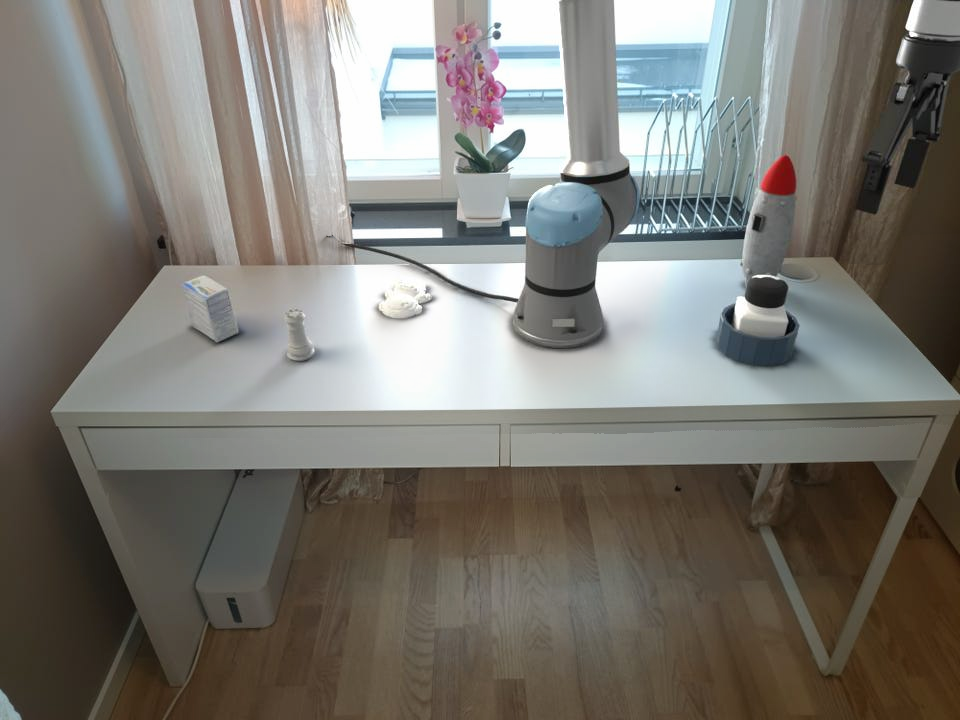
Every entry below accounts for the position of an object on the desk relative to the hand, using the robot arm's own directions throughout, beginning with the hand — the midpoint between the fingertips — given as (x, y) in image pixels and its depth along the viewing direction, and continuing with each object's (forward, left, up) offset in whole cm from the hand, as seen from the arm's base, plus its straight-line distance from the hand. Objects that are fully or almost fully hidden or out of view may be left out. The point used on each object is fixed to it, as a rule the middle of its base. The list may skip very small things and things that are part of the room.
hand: (885, 198), depth 104 cm
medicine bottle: (-12, -3, -27) cm, 30 cm away
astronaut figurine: (-71, -17, -27) cm, 78 cm away
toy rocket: (-16, +18, -27) cm, 36 cm away
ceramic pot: (-12, -3, -27) cm, 29 cm away
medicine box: (-94, -41, -27) cm, 106 cm away
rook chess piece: (-76, -40, -27) cm, 90 cm away
